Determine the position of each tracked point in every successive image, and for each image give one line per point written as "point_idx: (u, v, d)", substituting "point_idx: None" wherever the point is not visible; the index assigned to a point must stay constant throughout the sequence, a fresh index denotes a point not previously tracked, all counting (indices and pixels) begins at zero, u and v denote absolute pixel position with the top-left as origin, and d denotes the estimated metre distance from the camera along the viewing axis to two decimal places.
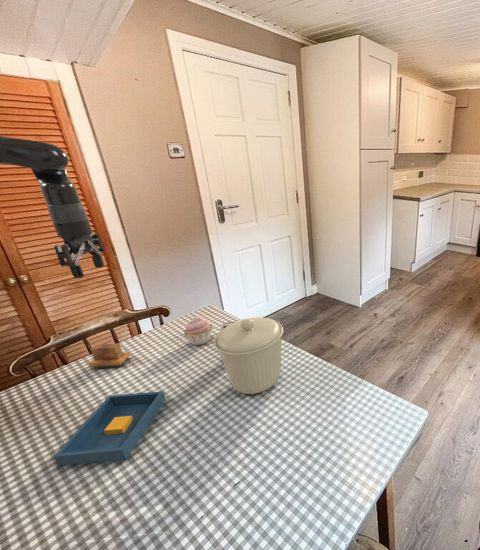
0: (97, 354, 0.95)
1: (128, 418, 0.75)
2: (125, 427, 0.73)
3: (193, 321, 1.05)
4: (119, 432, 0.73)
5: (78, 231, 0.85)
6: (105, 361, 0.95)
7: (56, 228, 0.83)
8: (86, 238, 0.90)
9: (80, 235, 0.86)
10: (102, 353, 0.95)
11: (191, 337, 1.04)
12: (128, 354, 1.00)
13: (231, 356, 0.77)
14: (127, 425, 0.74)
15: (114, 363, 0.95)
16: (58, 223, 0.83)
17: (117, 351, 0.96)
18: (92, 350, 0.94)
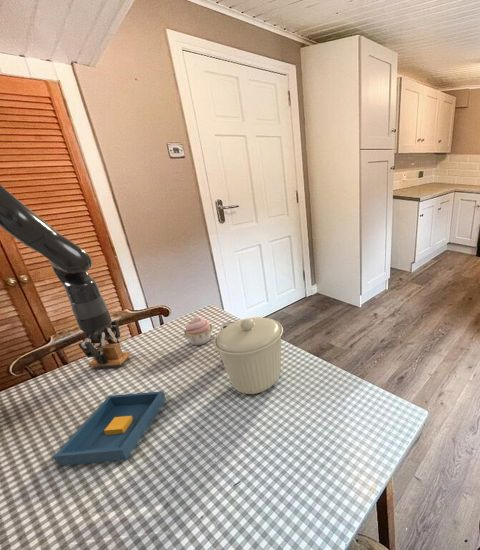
0: None
1: (128, 418, 0.75)
2: (125, 427, 0.73)
3: (193, 321, 1.05)
4: (119, 432, 0.73)
5: (99, 324, 0.90)
6: None
7: (78, 323, 0.88)
8: (105, 326, 0.95)
9: (100, 327, 0.91)
10: None
11: (191, 337, 1.04)
12: (128, 354, 1.00)
13: (231, 356, 0.77)
14: (127, 425, 0.74)
15: (114, 363, 0.95)
16: (80, 319, 0.88)
17: (117, 351, 0.96)
18: None
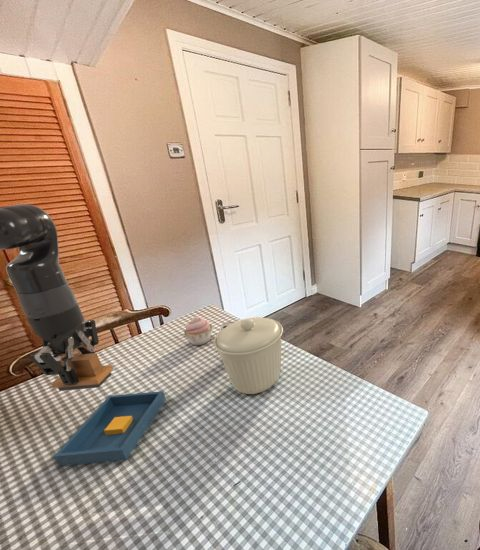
0: None
1: (128, 418, 0.75)
2: (125, 427, 0.73)
3: (193, 321, 1.05)
4: (119, 432, 0.73)
5: (63, 325, 0.60)
6: None
7: (31, 324, 0.58)
8: (75, 328, 0.65)
9: (66, 330, 0.60)
10: None
11: (191, 337, 1.04)
12: (110, 368, 0.69)
13: (231, 356, 0.77)
14: (127, 425, 0.74)
15: (89, 382, 0.65)
16: (33, 318, 0.57)
17: (93, 364, 0.66)
18: None
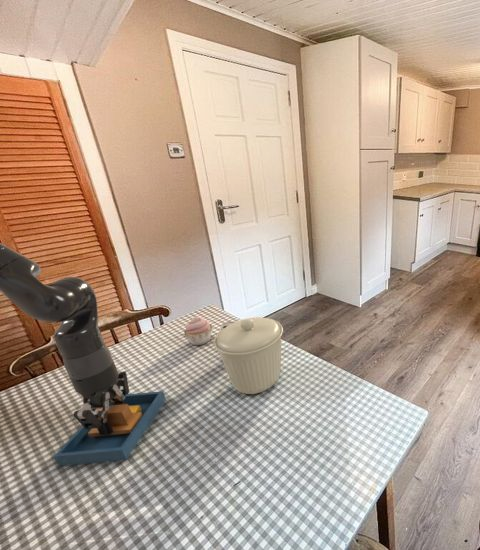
0: None
1: (137, 407, 0.78)
2: None
3: (193, 321, 1.05)
4: None
5: (102, 383, 0.66)
6: None
7: (73, 383, 0.64)
8: None
9: (104, 387, 0.66)
10: None
11: (191, 337, 1.04)
12: (140, 415, 0.75)
13: (231, 356, 0.77)
14: None
15: (122, 432, 0.71)
16: (76, 379, 0.63)
17: (126, 415, 0.71)
18: None
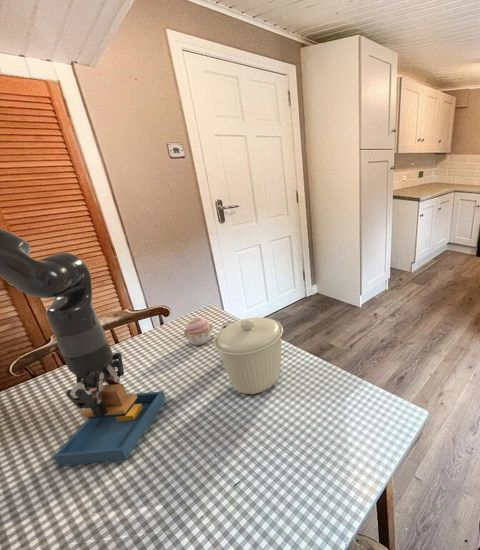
0: None
1: (138, 406, 0.79)
2: (135, 414, 0.77)
3: (193, 321, 1.05)
4: (130, 419, 0.76)
5: (95, 362, 0.64)
6: None
7: (67, 362, 0.63)
8: None
9: (98, 367, 0.65)
10: None
11: (191, 337, 1.04)
12: (135, 397, 0.74)
13: (231, 356, 0.77)
14: (137, 412, 0.78)
15: (116, 412, 0.70)
16: (69, 357, 0.62)
17: (120, 395, 0.70)
18: None
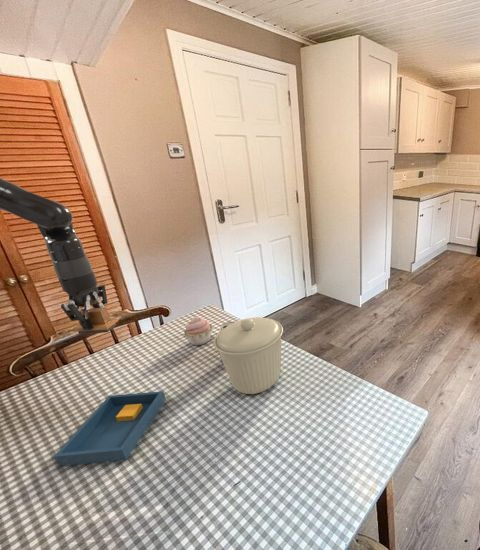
0: None
1: (138, 406, 0.79)
2: (135, 414, 0.77)
3: (193, 321, 1.05)
4: (130, 419, 0.76)
5: (83, 285, 0.85)
6: None
7: (61, 283, 0.83)
8: (91, 289, 0.89)
9: (85, 289, 0.85)
10: None
11: (191, 337, 1.04)
12: (116, 320, 0.94)
13: (231, 356, 0.77)
14: (137, 412, 0.78)
15: (100, 328, 0.90)
16: (63, 279, 0.82)
17: (103, 315, 0.91)
18: None
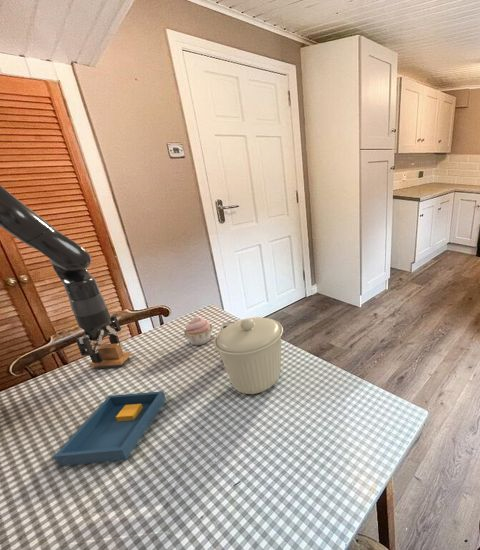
0: None
1: (138, 406, 0.79)
2: (135, 414, 0.77)
3: (193, 321, 1.05)
4: (130, 419, 0.76)
5: (98, 321, 0.90)
6: (106, 361, 0.95)
7: (77, 320, 0.88)
8: (104, 323, 0.95)
9: (100, 325, 0.90)
10: (103, 353, 0.95)
11: (191, 337, 1.04)
12: (129, 354, 0.99)
13: (231, 356, 0.77)
14: (137, 412, 0.78)
15: (115, 363, 0.95)
16: (79, 316, 0.87)
17: (118, 351, 0.96)
18: None
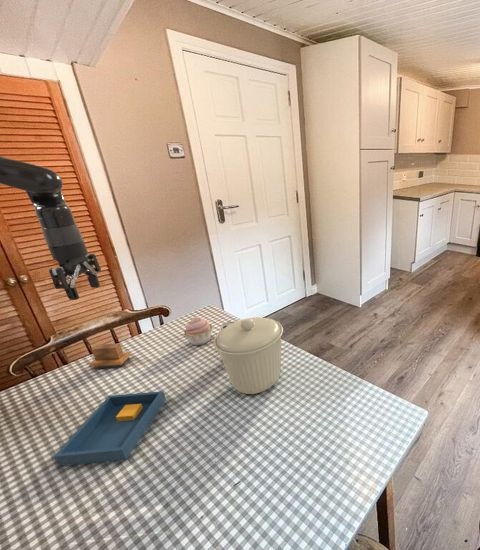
0: (97, 354, 0.95)
1: (138, 406, 0.79)
2: (135, 414, 0.77)
3: (193, 321, 1.05)
4: (130, 419, 0.76)
5: (73, 253, 0.85)
6: (106, 361, 0.95)
7: (51, 251, 0.83)
8: (81, 259, 0.89)
9: (75, 257, 0.85)
10: (103, 353, 0.95)
11: (191, 337, 1.04)
12: (129, 354, 0.99)
13: (231, 356, 0.77)
14: (137, 412, 0.78)
15: (115, 363, 0.95)
16: (53, 246, 0.82)
17: (118, 351, 0.96)
18: (93, 350, 0.94)
